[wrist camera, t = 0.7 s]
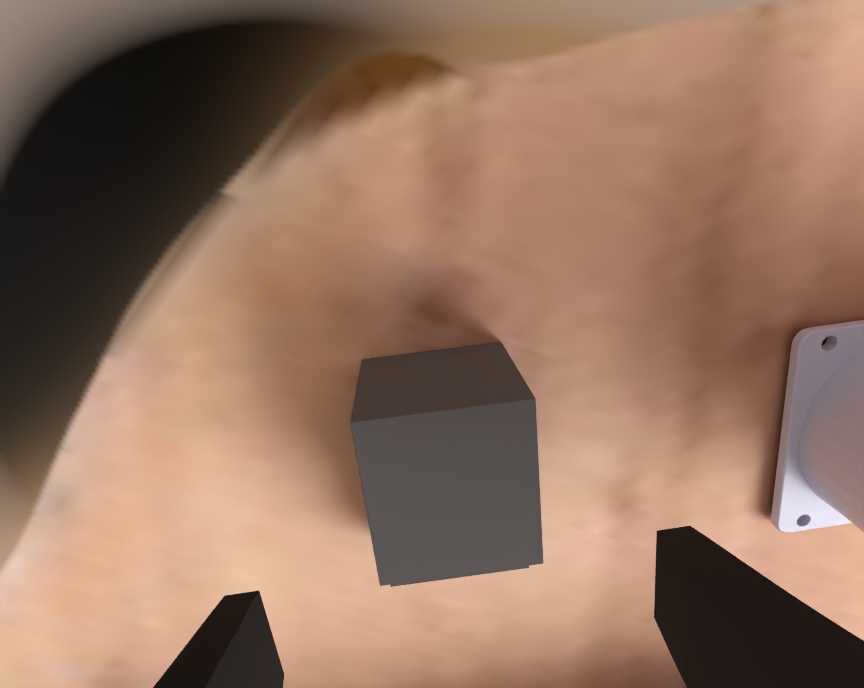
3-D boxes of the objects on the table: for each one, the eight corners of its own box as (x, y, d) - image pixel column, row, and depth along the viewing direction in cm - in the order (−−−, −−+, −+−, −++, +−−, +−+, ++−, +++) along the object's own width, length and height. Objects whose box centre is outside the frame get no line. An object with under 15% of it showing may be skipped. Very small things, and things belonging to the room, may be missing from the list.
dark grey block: (499, 340, 17) (535, 398, 12) (512, 517, 19) (545, 619, 15) (362, 357, 17) (350, 422, 12) (391, 534, 19) (390, 640, 15)
